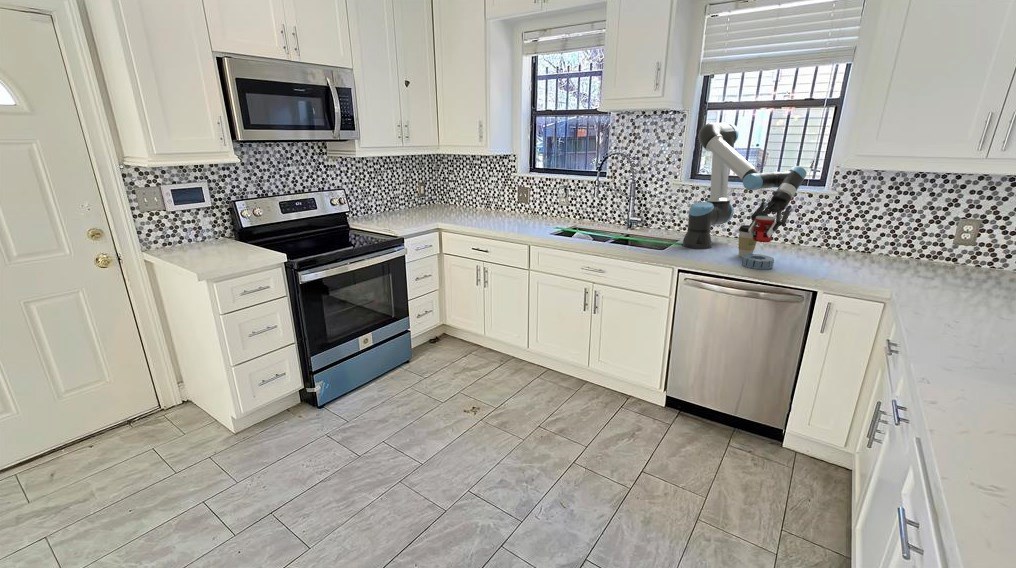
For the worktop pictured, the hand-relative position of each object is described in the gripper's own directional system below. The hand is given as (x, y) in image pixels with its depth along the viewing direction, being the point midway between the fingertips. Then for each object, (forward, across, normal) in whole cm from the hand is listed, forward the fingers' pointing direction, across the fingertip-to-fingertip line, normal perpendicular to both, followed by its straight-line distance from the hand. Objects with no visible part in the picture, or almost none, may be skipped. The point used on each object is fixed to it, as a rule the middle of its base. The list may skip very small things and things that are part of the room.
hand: (758, 233), depth 215 cm
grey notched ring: (+9, 0, -14) cm, 16 cm away
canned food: (0, 0, -5) cm, 5 cm away
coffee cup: (+1, +13, -22) cm, 26 cm away
